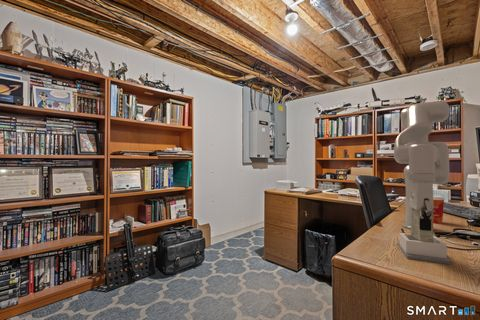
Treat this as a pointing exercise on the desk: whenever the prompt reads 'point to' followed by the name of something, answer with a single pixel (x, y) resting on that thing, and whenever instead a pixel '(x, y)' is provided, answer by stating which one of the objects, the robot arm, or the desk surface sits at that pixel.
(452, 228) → the desk surface
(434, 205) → the paper cup
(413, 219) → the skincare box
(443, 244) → the shallow white tray
